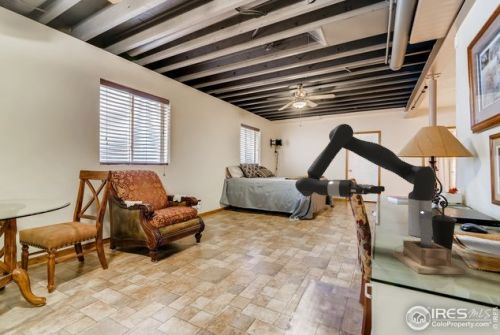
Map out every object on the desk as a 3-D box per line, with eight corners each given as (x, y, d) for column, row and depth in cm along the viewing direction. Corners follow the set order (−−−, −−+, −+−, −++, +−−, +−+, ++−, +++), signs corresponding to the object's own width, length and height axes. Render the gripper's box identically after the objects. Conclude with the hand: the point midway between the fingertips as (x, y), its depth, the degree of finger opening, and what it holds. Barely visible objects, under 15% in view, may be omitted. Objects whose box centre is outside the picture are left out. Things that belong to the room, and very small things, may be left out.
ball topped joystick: (419, 256, 82) (420, 209, 82) (431, 259, 80) (432, 210, 80) (419, 260, 79) (419, 210, 79) (432, 262, 77) (432, 212, 77)
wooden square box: (432, 256, 87) (432, 239, 86) (464, 274, 73) (465, 253, 73) (393, 255, 87) (393, 238, 87) (418, 273, 73) (418, 252, 73)
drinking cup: (450, 259, 84) (450, 203, 84) (426, 252, 91) (426, 200, 91) (460, 255, 88) (460, 202, 87) (436, 248, 94) (436, 199, 94)
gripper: (335, 180, 96) (379, 181, 86) (344, 178, 108) (385, 179, 98) (335, 199, 96) (380, 202, 86) (345, 195, 108) (385, 197, 98)
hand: (382, 189), depth 92 cm, fingers open, 8 cm apart
